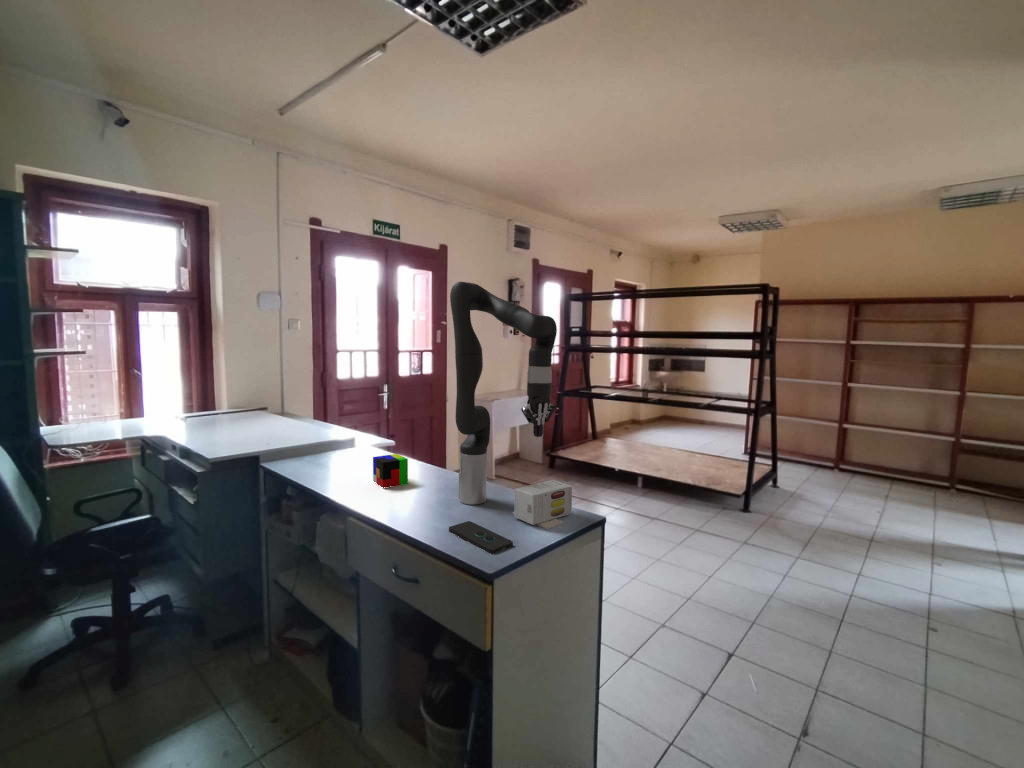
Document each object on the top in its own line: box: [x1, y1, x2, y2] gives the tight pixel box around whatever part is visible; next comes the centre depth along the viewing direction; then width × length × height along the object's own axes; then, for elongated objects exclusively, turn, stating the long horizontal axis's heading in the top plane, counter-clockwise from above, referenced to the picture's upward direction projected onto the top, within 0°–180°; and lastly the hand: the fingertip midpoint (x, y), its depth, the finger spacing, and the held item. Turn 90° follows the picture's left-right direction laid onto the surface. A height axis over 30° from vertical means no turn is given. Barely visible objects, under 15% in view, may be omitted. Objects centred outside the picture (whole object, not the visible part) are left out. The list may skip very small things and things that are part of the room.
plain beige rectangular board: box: [512, 510, 564, 530], centre depth 149 cm, size 16×7×1 cm, turn 40°
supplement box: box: [513, 479, 573, 526], centre depth 149 cm, size 10×9×17 cm
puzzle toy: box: [372, 453, 409, 489], centre depth 183 cm, size 10×10×10 cm
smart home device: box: [448, 520, 514, 555], centre depth 134 cm, size 8×2×20 cm
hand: (538, 436), depth 146 cm, fingers closed
